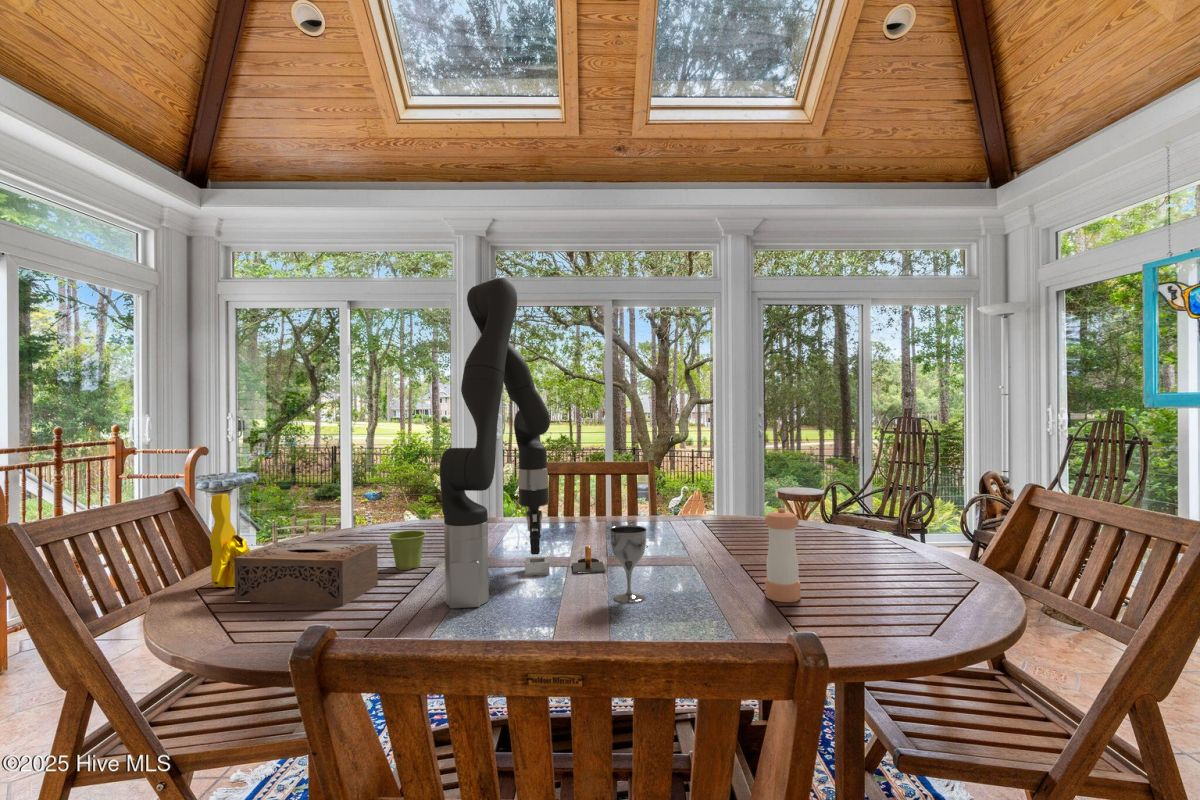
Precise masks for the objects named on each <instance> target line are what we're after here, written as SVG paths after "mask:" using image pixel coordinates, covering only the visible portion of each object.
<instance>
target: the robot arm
mask: <svg viewBox="0 0 1200 800" xmlns="http://www.w3.org/2000/svg"><path fill="white" fill-rule="evenodd" d="M466 302H467V306H468V307H467V308H468V310H469V312H470V314H471V317H472V319H473V321H474V323H475V324H476V327H477V329H478V330H479V332H480V337H479V338H478V339H477V342H476V343H475V345H474V346H473V347H472V350H471V351H470V353H469V355H468V357H467V358H466V361H465V363H464V369H463V374H462V380H461V387H460V390H461V391H460V392H461V395H462V399H463V401H464V403H465V405H466V407H467V409H468V411H469V413H470V414H471V418H472V419H473V422H474V425H475V428H476V443H475V447H451V448H448V449H446V450H444V452H443V453H442V455H441V457H440V464H439V483H440V497H441V499H440V501H441V510H442V511H441V512H442V514H443V521H444V522H443V524H444V525H443V529H444V531H443V532H444V534H443V535H444V544H443V545H444V586H445V589H444V590H445V591H444V596H445V597H444V598H445V599H444V600H445V605H447V606H448V607H449V609H462V608H463V609H464V608H467V609H468V608H479V607H481V606H482V605H484V604H486V603H487V602H489V600H490V591H489V590H490V586H489V585H490V584H489V583H490V582H489V531H488V530H489V526H488V525H489V524H488V522H489V521H488V520H489V519H488V517H489V516H488V509H487V508H486V507H485V506H484V505H481V504H480V503H477V502H476V501H474V500H472V499H470V498H469V496H467V494H466V491H470V492H473V491H474V492H477V491H478V492H483V491H487V490H489V488H490V487H491V485H492V483H493V479H494V476H495V469H496V455H497V454H496V453H497V438H498V437H497V436H498V435H497V434H498V421H499V413H500V407H501V406H500V405H501V400H502V394H503V386H504V387H505V389H506V393H507V395H508V398H509V399H510V400H511V401H512V402H513V403H515V404H516V406H517V408H518V411H517V412H516V414H515V415H514V420H513V430H514V437H515V442H516V444H517V448H518V468H519V469H518V478H517V479H518V483H517V484H518V504H519V505H520V506H521V507H526V508H527V507H528V510H527V511H526V510H525V514H526V516H525V517H526V522H527V523H526V524H527V531H528V532H529V544H530V554H531V555H540V554H541V546H540V545H541V544H540V539H541V538H542V535H541V531H542V526H543V525H542V521H543V511H542V510H540V507H544V506H546V505H548V504H549V502H550V501H549V475H548V474H549V473H548V460H547V459H548V458H547V457H548V456H547V448H546V446H545V445H543V444H542V442H541V441H542V440H541V436H542V435H544V434H546V432H548V430H549V428H550V426H551V418H550V414H549V411H548V408H547V406H546V404H545V402H544V401H543V399H542V397H541V395H540V394H539V392H538V390H537V389H536V385H535V383H534V380H533V377H532V374H531V371H530V368H529V366H528V363H527V361H526V360H525V358H524V356H522V354H521V353H520V352H519V351H518V350H517V349H516V347H514V346H513V345H512V344H511V342H510V337H511V333H512V328H513V326H514V321H515V318H516V314H517V313H516V312H517V307H518V294H517V290H516V288H515V285H514V284H513V283H512V281H511V280H510V279H508V278H505V277H499V278H498V277H497V278H494V279H490V280H488V281H485V282H482V283H479V284H477V285H475V286H472V287H471V288H470V289H469V290H468V292H467V296H466Z"/></svg>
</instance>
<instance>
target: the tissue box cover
mask: <svg viewBox="0 0 1200 800" xmlns="http://www.w3.org/2000/svg"><path fill="white" fill-rule="evenodd" d="M234 570H235V588H234V602H235V601H250V602H268V603H267V604H271V603H284V604H283V605H298V604H299V605H300V606H301V605H304V606H306V605H308V606H327V607H330V606H332V607H344V606H346V605H347V604H349V603H351V602H352V601H354V600H356V599H357V597H358V598H359V597H361V596H362V595H364V594H367V591H368V592H369V591H370V589H371V590H373V589H374V588H376V587H377V585H378V586H379V582H378V581H379V579H378V576H379V575H378V574H379V573H378V572H379V571H378V544H373V543H372V544H370V543H368V544H365V543H361V544H360V543H324V542H323V543H320V542H319V543H317V542H316V543H315V542H276V543H274V544H271V545H268V546H264V547H261V548H259V549H256V550H253V551H251V552H250V553H247V554H244V555H241V556H238V557H236V558H234ZM375 586H376V587H375ZM372 588H373V589H372Z"/></svg>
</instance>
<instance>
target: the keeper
mask: <svg viewBox="0 0 1200 800" xmlns="http://www.w3.org/2000/svg"><path fill="white" fill-rule="evenodd" d="M584 554H585V555H584V558H585V559H584V562H571V566H573V568H572V570H573V572H574V573H578V572H606V571H607V570H606V568H605V565H604V562H603V561H592V546H591V545H586V546H584ZM574 573H573V574H574Z"/></svg>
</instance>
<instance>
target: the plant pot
mask: <svg viewBox="0 0 1200 800" xmlns="http://www.w3.org/2000/svg"><path fill="white" fill-rule="evenodd" d="M426 535H427V532H426V531H422V530H402V531H397V532H393V533H390V534H389V535H388V539H389V541H390V543H391V547H392V552H393V560H394V564H395V568H396V569H398V570H399V571H409V570H411V569H418V568H419V567H420V566H421V562H422V561H421V560H422V553H423V552H422V551H423V546H424V545H423V544H424V541H425V536H426Z"/></svg>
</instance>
